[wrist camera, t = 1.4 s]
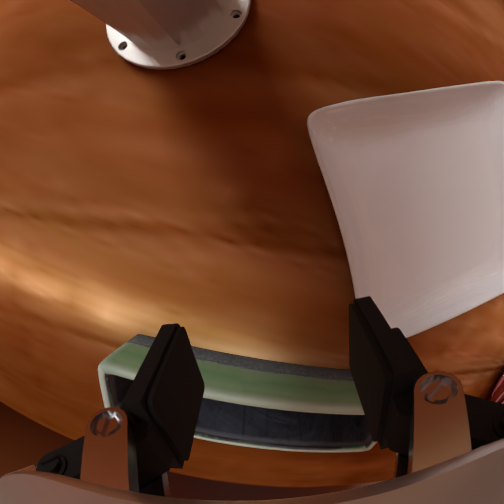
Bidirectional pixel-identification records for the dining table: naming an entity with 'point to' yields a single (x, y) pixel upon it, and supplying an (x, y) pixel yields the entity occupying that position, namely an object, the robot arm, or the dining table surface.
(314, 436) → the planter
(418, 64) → the dining table surface
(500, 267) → the salad plate
